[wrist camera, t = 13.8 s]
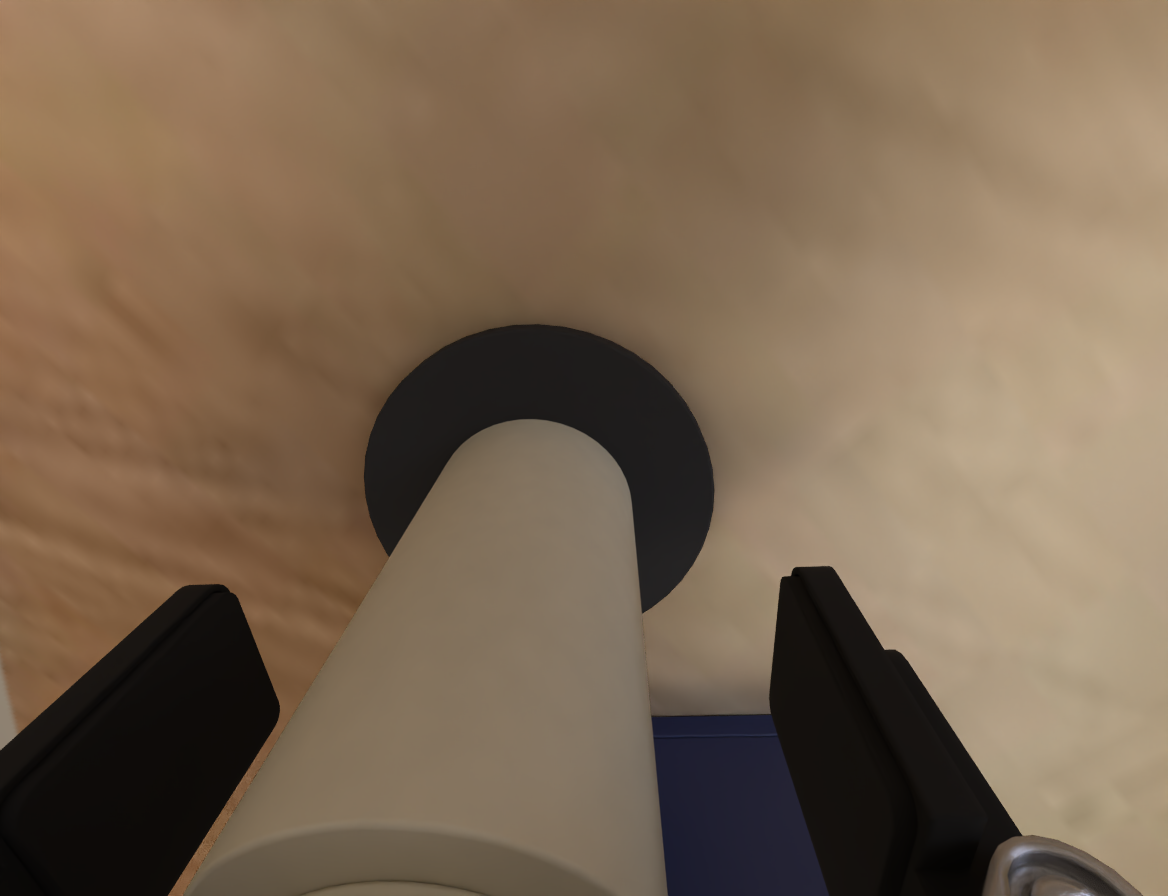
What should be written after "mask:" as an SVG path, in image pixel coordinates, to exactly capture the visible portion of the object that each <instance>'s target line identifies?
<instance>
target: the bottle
mask: <svg viewBox="0 0 1168 896" xmlns="http://www.w3.org/2000/svg"><path fill="white" fill-rule="evenodd" d="M183 896H668V892H667V881H666V870H665V859H664V848H663V837H662V827H661V816H660V805H659V794H658V783H657V772H656V761H655V750H654V740H653V729H652V718H651V707H650V696H649V685H648V674H647V663H646V652H645V642H644V631H643V620H642V609H641V598H640V587H639V576H638V565H637V555H636V544H635V533H634V522H633V511H632V501H631V495H630V490H629V487H628V484H627V481H626V478H625V476H624V474H623V472H622V470H621V468H620V467H619V465H618V464H617V462H616V461H615V459H614V458H613V457H612V456H611V455H610V454H609V453H608V452H607V450H606V449H604V448H603V447H602V446H601V445H600V444H599V443H598V442H596V441H595V440H593V439H592V438H590V437H589V436H587V435H586V434H584V433H582V432H580V431H578V430H576V429H574V428H572V427H569V426H566V425H563V424H560V423H556V422H552V421H547V420H537V419H520V420H513V421H507V422H503V423H499V424H496V425H493V426H491V427H488V428H486V429H484V430H481V431H480V432H478V433H477V434H475V435H473V436H472V437H470V438H469V439H468V440H467V441H465V442H464V443H463V444H462V445H461V446H460V447H459V448H458V449H457V450H456V451H455V452H454V453H453V455H452V456H451V458H450V459H449V461H448V462H447V464H446V466H445V467H444V469H443V471H442V472H441V474H440V475H439V477H438V479H437V480H436V482H435V484H434V485H433V487H432V489H431V490H430V492H429V493H428V495H427V497H426V498H425V500H424V502H423V503H422V505H421V507H420V508H419V510H418V511H417V513H416V515H415V516H414V518H413V520H412V521H411V523H410V524H409V526H408V528H407V529H406V531H405V533H404V534H403V536H402V538H401V539H400V541H399V542H398V544H397V546H396V547H395V549H394V551H393V552H392V554H391V556H390V557H389V559H388V560H387V562H386V564H385V565H384V567H383V569H382V570H381V572H380V573H379V575H378V577H377V578H376V580H375V582H374V583H373V585H372V587H371V588H370V590H369V591H368V593H367V595H366V596H365V598H364V600H363V601H362V603H361V605H360V606H359V608H358V609H357V611H356V613H355V614H354V616H353V618H352V619H351V621H350V623H349V624H348V626H347V627H346V629H345V631H344V632H343V634H342V636H341V637H340V639H339V640H338V642H337V644H336V645H335V647H334V649H333V650H332V652H331V654H330V655H329V657H328V658H327V660H326V662H325V663H324V665H323V667H322V668H321V670H320V672H319V673H318V675H317V676H316V678H315V680H314V681H313V683H312V685H311V686H310V688H309V689H308V691H307V693H306V694H305V696H304V698H303V699H302V701H301V703H300V704H299V706H298V707H297V709H296V711H295V712H294V714H293V716H292V717H291V719H290V721H289V722H288V724H287V725H286V727H285V729H284V730H283V732H282V734H281V735H280V737H279V738H278V740H277V742H276V743H275V745H274V747H273V748H272V750H271V752H270V753H269V755H268V756H267V758H266V760H265V761H264V763H263V765H262V766H261V768H260V770H259V771H258V773H257V774H256V776H255V778H254V779H253V781H252V783H251V784H250V786H249V788H248V789H247V791H246V792H245V794H244V796H243V797H242V799H241V801H240V802H239V804H238V805H237V807H236V809H235V810H234V812H233V814H232V815H231V817H230V819H229V820H228V822H227V823H226V825H225V827H224V828H223V830H222V832H221V833H220V835H219V837H218V838H217V840H216V841H215V843H214V845H213V846H212V848H211V850H210V851H209V853H208V854H207V856H206V858H205V859H204V861H203V863H202V864H201V866H200V868H199V869H198V871H197V872H196V874H195V876H194V877H193V879H192V881H191V882H190V884H189V886H188V887H187V889H186V890H185V892H184V895H183Z"/></svg>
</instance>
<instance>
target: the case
mask: <svg viewBox="0 0 1168 896" xmlns="http://www.w3.org/2000/svg"><path fill="white" fill-rule="evenodd" d="M651 718H652V729H653V740H654V750H655V761H656V772H657V783H658V794H659V805H660V816H661V827H662V837H663V848H664V859H665V870H666V881H667V892H668V896H829V894H828V891H827V887H826V884H825V881H824V878H823V875H822V872H821V869H820V866H819V863H818V859H817V856H816V853H815V850H814V847H813V844H812V841H811V838H810V835H809V831H808V828H807V825H806V822H805V819H804V816H803V813H802V810H801V806H800V803H799V800H798V797H797V794H796V791H795V788H794V785H793V782H792V778H791V775H790V772H789V769H788V766H787V763H786V760H785V757H784V754H783V750H782V747H781V744H780V741H779V738H778V735H777V732H776V729H775V726H774V722H773V719H772V715H731V716H672V717H651Z"/></svg>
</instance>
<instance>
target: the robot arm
mask: <svg viewBox="0 0 1168 896" xmlns="http://www.w3.org/2000/svg"><path fill="white" fill-rule="evenodd" d="M769 701H770V710H771V715H772V719H773V722H774V726H775V729H776V732H777V735H778V738H779V741H780V744H781V747H782V750H783V754H784V757H785V760H786V763H787V766H788V769H789V772H790V775H791V778H792V782H793V785H794V788H795V791H796V794H797V797H798V800H799V803H800V806H801V810H802V813H803V816H804V819H805V822H806V825H807V828H808V831H809V835H810V838H811V841H812V844H813V847H814V850H815V853H816V856H817V859H818V863H819V866H820V869H821V872H822V875H823V878H824V881H825V884H826V887H827V891H828V894H829V896H1143V895H1142V894H1141V893H1140V892H1139V891H1138V890H1137V889H1135V888H1134V887H1133V886H1132V885H1131V884H1130V883H1129V882H1127V881H1126V880H1125V879H1124V878H1123V877H1122V876H1120V875H1119V874H1118V873H1117V872H1116V871H1115V870H1113V869H1112V868H1110V867H1109V866H1107V865H1105V864H1104V863H1102V862H1101V861H1099V860H1098V859H1096V858H1094V857H1093V856H1091V855H1090V854H1088V853H1086V852H1085V851H1082V850H1080V849H1078V848H1075V847H1073V846H1071V845H1068V844H1066V843H1064V842H1061V841H1059V840H1055V839H1050V838H1045V837H1040V836H1035V835H1029V836H1022V834H1021V833H1020V831H1019V830H1018V828H1017V827H1016V825H1015V824H1014V822H1013V821H1012V819H1011V818H1010V816H1009V814H1008V813H1007V811H1006V810H1005V808H1004V807H1003V805H1002V804H1001V802H1000V801H999V799H998V798H997V796H996V795H995V793H994V792H993V790H992V789H991V787H990V786H989V784H988V783H987V781H986V780H985V778H984V776H983V775H982V773H981V772H980V770H979V769H978V767H977V766H976V764H975V763H974V761H973V760H972V758H971V757H970V755H969V754H968V752H967V751H966V749H965V748H964V746H963V745H962V743H961V741H960V740H959V738H958V737H957V735H956V734H955V732H954V731H953V729H952V728H951V726H950V725H949V723H948V722H947V720H946V719H945V717H944V716H943V714H942V713H941V711H940V710H939V708H938V706H937V705H936V703H935V702H934V700H933V699H932V697H931V696H930V694H929V693H928V691H927V690H926V688H925V687H924V685H923V684H922V682H921V681H920V679H919V678H918V676H917V675H916V673H915V671H914V670H913V668H912V667H911V665H910V664H909V662H908V661H907V660H906V659H905V657H904V656H903V655H902V654H901V653H899V652H898V651H896V650H884V648H883V647H882V645H881V644H880V642H879V640H878V639H877V637H876V636H875V634H874V632H873V631H872V629H871V628H870V626H869V624H868V623H867V621H866V619H865V618H864V616H863V615H862V613H861V611H860V610H859V608H858V607H857V605H856V603H855V602H854V600H853V599H852V597H851V595H850V594H849V592H848V591H847V589H846V587H845V586H844V584H843V582H842V581H841V579H840V578H839V576H838V574H837V573H836V571H835V570H834V569H833V568H832V567H830V566H819V567H795V568H794V569H793V571H792V574H791V576H785V577H782V579H781V583H780V592H779V602H778V612H777V622H776V632H775V643H774V653H773V663H772V673H771V683H770V694H769ZM279 713H280V705H279V701H278V698H277V696H276V693H275V691H274V688H273V686H272V683H271V681H270V678H269V676H268V673H267V671H266V668H265V666H264V663H263V660H262V658H261V655H260V653H259V650H258V648H257V645H256V643H255V640H254V638H253V635H252V633H251V630H250V628H249V625H248V622H247V620H246V617H245V615H244V612H243V610H242V607H241V605H240V602H239V600H238V598H237V596H236V595H235V594H233V593H230V591H229V589H228V588H227V587H225V586H224V585H220V584H209V585H188V586H184V587H182V588H181V589H179V590H178V591H176V592H175V593H174V594H173V595H172V596H171V597H170V598H169V599H168V600H167V601H165V602H164V603H163V604H162V605H161V606H160V607H159V608H158V609H157V610H155V611H154V612H153V613H152V614H151V615H150V616H149V617H148V618H147V619H145V620H144V621H143V622H142V623H141V624H140V625H139V626H138V627H137V628H135V629H134V630H133V631H132V632H131V633H130V634H129V635H128V636H127V637H126V638H124V639H123V640H122V641H121V642H120V643H119V644H118V645H117V646H116V647H114V648H113V649H112V650H111V651H110V652H109V653H108V654H107V655H106V656H104V657H103V658H102V659H101V660H100V661H99V662H98V663H97V664H96V665H95V666H93V667H92V668H91V669H90V670H89V671H88V672H87V673H86V674H85V675H83V676H82V677H81V678H80V679H79V680H78V681H77V682H76V683H75V684H73V685H72V686H71V687H70V688H69V689H68V690H67V691H66V692H65V693H64V694H62V695H61V696H60V697H59V698H58V699H57V700H56V701H55V702H54V703H52V704H51V705H50V706H49V707H48V708H47V709H46V710H45V711H44V712H42V713H41V714H40V715H39V716H38V717H37V718H36V719H35V720H34V721H33V722H31V723H30V724H29V725H28V726H27V727H26V728H25V729H24V730H23V731H21V732H20V733H19V734H18V735H17V736H16V737H15V738H14V739H13V740H12V741H10V742H9V743H8V744H7V745H6V746H5V747H4V748H3V749H2V750H0V896H168V895H169V893H170V891H171V890H172V888H173V887H174V885H175V883H176V882H177V880H178V879H179V877H180V876H181V874H182V872H183V871H184V869H185V868H186V866H187V865H188V863H189V861H190V860H191V858H192V857H193V855H194V853H195V852H196V850H197V849H198V847H199V846H200V844H201V842H202V841H203V839H204V838H205V836H206V835H207V833H208V831H209V830H210V828H211V827H212V825H213V824H214V822H215V820H216V819H217V817H218V816H219V814H220V812H221V811H222V809H223V808H224V806H225V805H226V803H227V801H228V800H229V798H230V797H231V795H232V794H233V792H234V790H235V789H236V787H237V786H238V784H239V782H240V781H241V779H242V778H243V776H244V775H245V773H246V771H247V770H248V768H249V767H250V765H251V764H252V762H253V760H254V759H255V757H256V756H257V754H258V752H259V751H260V749H261V748H262V746H263V745H264V743H265V741H266V740H267V738H268V737H269V735H270V734H271V732H272V730H273V729H274V727H275V725H276V723H277V721H278V718H279Z"/></svg>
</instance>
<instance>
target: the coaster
mask: <svg viewBox="0 0 1168 896" xmlns="http://www.w3.org/2000/svg"><path fill="white" fill-rule="evenodd" d="M520 419H537V420H547V421H552V422H556V423H560V424H563V425H566V426H569V427H572V428H574V429H576V430H578V431H580V432H582V433H584V434H586V435H587V436H589V437H590V438H592V439H593V440H595V441H596V442H598V443H599V444H600V445H601V446H602V447H603V448H604V449H606V450H607V452H608V453H609V454H610V455H611V456H612V457H613V458H614V459H615V461H616V462H617V464H618V465H619V467H620V468H621V470H622V472H623V474H624V476H625V478H626V481H627V484H628V487H629V490H630V495H631V501H632V511H633V522H634V533H635V544H636V555H637V565H638V576H639V587H640V598H641V609H642V613H644V612H645V611H647V610H649V609H650V608H652V607H653V606H654V605H656V604H657V603H658V602H659V601H661V600H662V599H663V598H664V597H666V596H667V595H668V594H669V593H670V592H671V591H672V590H673V589H674V588H675V587H676V586H677V585H678V584H679V583H680V581H681V580H682V579H683V578H684V576H685V575H686V573H687V572H688V571H689V569H690V568H691V567H692V565H693V563H694V562H695V560H696V558H697V556H698V554H699V552H700V551H701V549H702V547H703V544H704V541H705V538H706V536H707V533H708V530H709V527H710V522H711V517H712V512H713V503H714V480H713V469H712V464H711V460H710V456H709V452H708V448H707V445H706V443H705V441H704V438H703V436H702V433H701V431H700V428H699V426H698V424H697V421H696V419H695V418H694V416H693V414H692V413H691V411H690V409H689V407H688V406H687V404H686V402H685V401H684V400H683V398H682V397H681V396H680V395H679V393H678V392H677V391H676V390H675V388H674V387H673V386H672V385H671V383H670V382H669V381H668V380H667V379H665V378H664V377H663V376H662V375H661V374H660V373H659V372H658V371H657V370H656V369H655V368H654V367H653V366H651V365H650V364H648V363H647V362H646V361H644V360H643V359H641V358H640V357H639V356H637V355H636V354H634V353H633V352H631V351H629V350H627V349H625V348H624V347H622V346H620V345H618V344H616V343H614V342H612V341H610V340H607V339H604V338H602V337H599V336H596V335H594V334H591V333H588V332H584V331H580V330H575V329H571V328H567V327H561V326H550V325H540V324H534V325H512V326H506V327H500V328H494V329H489V330H485V331H482V332H479V333H476V334H473V335H470V336H466V337H464V338H462V339H460V340H458V341H456V342H454V343H452V344H450V345H447V346H445V347H444V348H442V349H441V350H439V351H438V352H436V353H435V354H433V355H432V356H430V357H429V358H427V359H426V360H424V361H423V362H422V363H421V364H420V365H419V366H418V367H416V368H415V369H414V370H413V371H412V372H411V373H410V374H409V375H408V376H407V377H405V378H404V379H403V380H402V381H401V383H400V384H399V385H398V386H397V388H396V389H395V390H394V391H393V392H392V394H391V395H390V396H389V397H388V399H387V401H386V403H385V404H384V406H383V408H382V409H381V411H380V413H379V415H378V416H377V419H376V421H375V424H374V427H373V429H372V432H371V434H370V438H369V442H368V447H367V451H366V456H365V469H364V483H365V495H366V501H367V505H368V510H369V514H370V518H371V521H372V523H373V526H374V528H375V531H376V534H377V536H378V538H379V540H380V542H381V544H382V546H383V547H384V549H385V551H386V553H387V554H388V556H389V557H390V556H391V554H392V552H393V551H394V549H395V547H396V546H397V544H398V542H399V541H400V539H401V538H402V536H403V534H404V533H405V531H406V529H407V528H408V526H409V524H410V523H411V521H412V520H413V518H414V516H415V515H416V513H417V511H418V510H419V508H420V507H421V505H422V503H423V502H424V500H425V498H426V497H427V495H428V493H429V492H430V490H431V489H432V487H433V485H434V484H435V482H436V480H437V479H438V477H439V475H440V474H441V472H442V471H443V469H444V467H445V466H446V464H447V462H448V461H449V459H450V458H451V456H452V455H453V453H454V452H455V451H456V450H457V449H458V448H459V447H460V446H461V445H462V444H463V443H464V442H465V441H467V440H468V439H469V438H470V437H472V436H473V435H475V434H477V433H478V432H480V431H481V430H484V429H486V428H488V427H491V426H493V425H496V424H499V423H503V422H507V421H513V420H520Z"/></svg>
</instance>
